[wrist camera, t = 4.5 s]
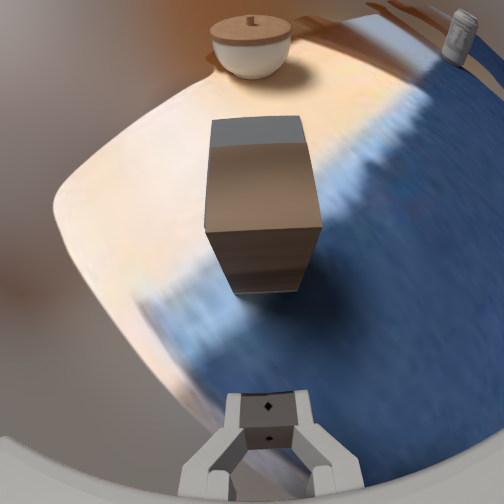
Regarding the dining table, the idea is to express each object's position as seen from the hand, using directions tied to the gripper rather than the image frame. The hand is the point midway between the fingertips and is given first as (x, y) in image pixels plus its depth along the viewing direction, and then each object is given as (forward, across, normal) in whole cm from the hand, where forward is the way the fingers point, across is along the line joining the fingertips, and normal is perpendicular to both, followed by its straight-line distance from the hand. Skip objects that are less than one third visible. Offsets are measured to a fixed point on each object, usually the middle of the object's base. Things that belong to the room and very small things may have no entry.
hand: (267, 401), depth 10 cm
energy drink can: (+47, -47, -32) cm, 74 cm away
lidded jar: (+35, 0, -20) cm, 41 cm away
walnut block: (+14, 0, +1) cm, 14 cm away
